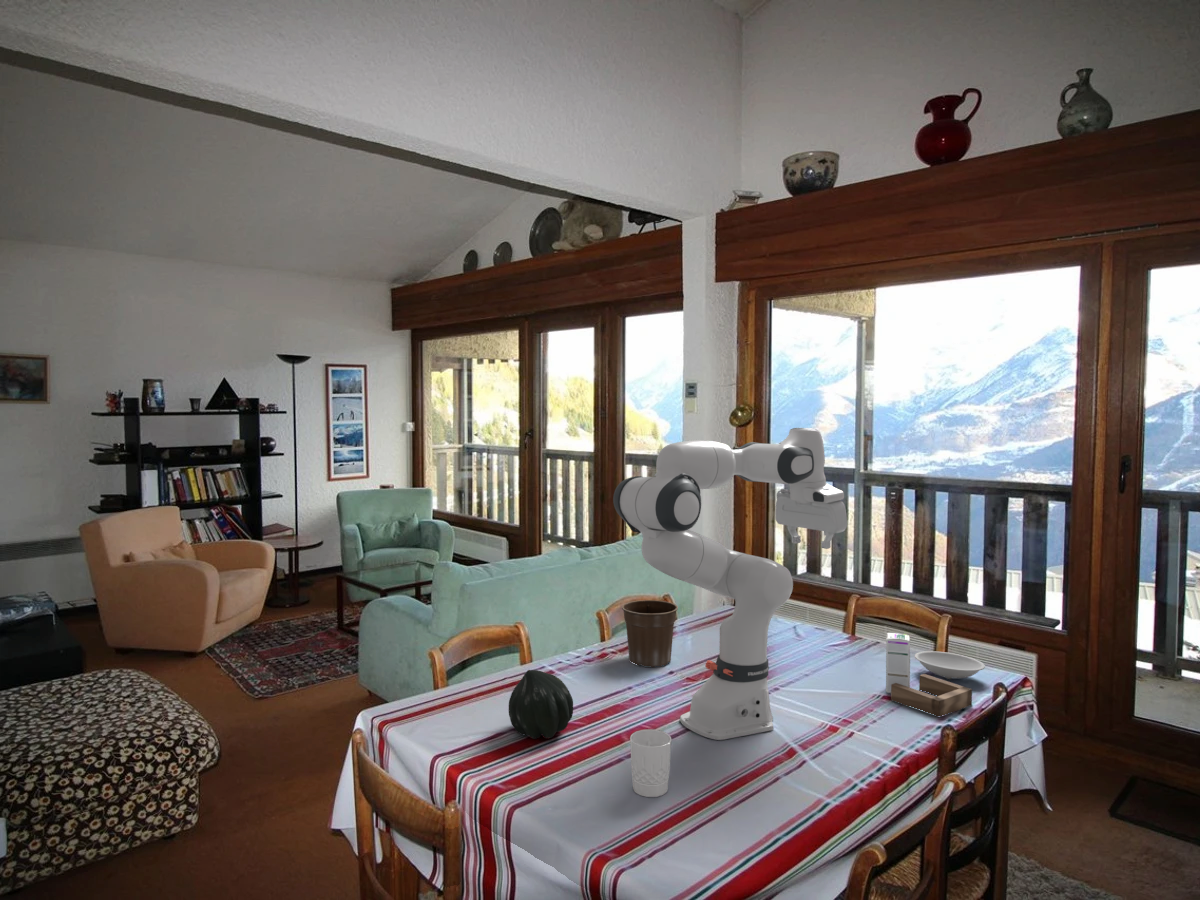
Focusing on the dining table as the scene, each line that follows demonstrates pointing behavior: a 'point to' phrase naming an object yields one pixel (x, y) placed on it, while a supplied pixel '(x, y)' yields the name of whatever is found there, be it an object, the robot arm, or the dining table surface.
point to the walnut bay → (945, 702)
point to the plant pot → (650, 631)
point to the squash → (540, 705)
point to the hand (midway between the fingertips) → (810, 545)
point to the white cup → (650, 762)
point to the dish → (949, 664)
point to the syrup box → (897, 660)
